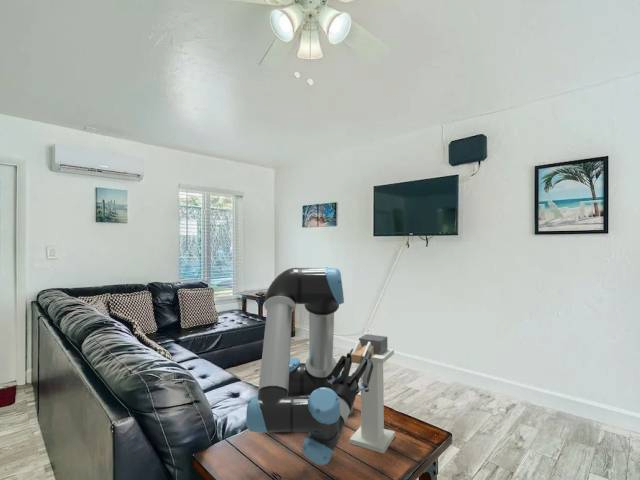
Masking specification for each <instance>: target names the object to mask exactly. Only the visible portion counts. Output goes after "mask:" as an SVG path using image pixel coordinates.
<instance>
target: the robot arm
mask: <svg viewBox="0 0 640 480" xmlns="http://www.w3.org/2000/svg"><path fill="white" fill-rule="evenodd" d="M266 291H267V292H266V293H265V297H264V304H263V305H264V309H265V310H266V317H265V325H264V334H263V335H264V337H263V342H262V344H263V345H262V355H261V356H262V357H261V363H260V364H261V365H260V371H259V372H260V373H259V381H258V392H257V396H253V397H250V398H249V399H248V401H247V406H246V415H245V416H246V417H245V420H246V421H245V422H246V427H247V429H248V431H250V432H251V433H265V434H268V433H274V434H281V435H283V434H285V435H286V434H290V433H291V434H292V433H294V432H295V433H296V432H298V433H299V432H300V433H302V432H304V433H305V432H307V435H306V436H305V438H304V442H303V444H302V446H301V447H302V448H301V449H302V452H303V453H302V454H304V456H305V458H307V459H308V460H310V461H311V462H312V463H315V464H316V465H319V466H325V465H328V463H329V462H330V460H331V459H332V456H333V454H334V453H335V450H336V447H337V445H338V442H339V439H340V436H341V434H342V432H343V429H344V426H345V424H346V422H347V420H348V417H349V416H350V415H349V413H350V410H351V408H352V406H353V403H354V404H355V401H356V398H357V397H356V396H358V394H359V393H361V391H362V390H365V392H368V391H369V387H368V385H369V381H370V377H371V374H372V370H373V363H372V360H370V358H371V349H372V346H371V342H368V344H367V346H366V348H365V350H364V353H363V355H362V358H363V360H362V361H361V363H360V364H359V365H358V366H357V368H356V369H355V370H354V372H352V373H351V375H349V374H350V372H351V368H352V365H353V363H352V362H351V354H353V353H354V352H356V351H357V350H359V349H360V348H361V347H362V346H361V342H360V340H359V339H358V340H357V341H356V343H355V346H354V348H351V349H350V351H349V352H347V353H346V355H341V356H340V358H339V360H338V361H336V359H335V358H334V357H333V355H334V333H335V332H334V331H335V329H334V328H335V313H337V311H338V309H339V308H340V307H339V306H340V305H342V304H344V303H345V298H344V297H345V296H344V289H343V280H342V274H341V271H340V269H339V268H336V267H328V266H326V267H291V268H288V269H286V270H284V271H282V272H281V273H280V274H278V275H277V276H276V277H275V278H274V280H273V281H272V282H271V284H270V285H269V287H268V289H267V290H266ZM297 305H304V309H305V310H306V312H308V324H309V325H308V333H309V335H308V336H309V337H308V338H309V339H308V340H309V343H308V344H309V345H308V346H309V347H308V350H309V351H308V357H307V358H306V360H305V362H301V361H300V359H299V358H297V357H291V344H292V343H291V340H292V319H293V312H294V311H295V310H296V307H297ZM364 371H365V373H364ZM363 373H364V376H363V381H362V382H361V381H360V380H361V376H362V374H363ZM359 383H360V385H359ZM308 396H310V397H308ZM353 407H354V406H353Z"/></svg>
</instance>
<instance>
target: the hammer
mask: <svg viewBox="0 0 640 480" xmlns="http://www.w3.org/2000/svg"><path fill="white" fill-rule="evenodd" d="M358 340H360V342H361V346H362V347H361V348H360V349H359V350H357V351H356V352H354V353H353V354H351V362H352V364H359V365H360V363H361V361H362V360H363V358H362V355H363V353H364V350H365V348H366V346H367V344H368V342H371V346H372V349H371V356H372V355H373V354H379V355H381V354H383V353H384V352H385V351H386V350H388V349H389V348H388V336H385V335H376V334H375V335H374V334H369V333H368V334H367V333H366V334H364V335H362V336H360V337H359V338H358Z"/></svg>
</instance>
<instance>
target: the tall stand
mask: <svg viewBox="0 0 640 480" xmlns="http://www.w3.org/2000/svg"><path fill="white" fill-rule="evenodd" d="M394 354H395V349H392V348H388V350H386V351H385V352H384V353H383V354H381V355H379V354H373V355H372V356H371V358H370V360H372V363H373V370H372V374H371V377H370V381H369V385H368V387H369V391H368V392H365V390H362V391H360V426H359V427H358V428H357V430H356V431H355V432H354V433H353V434H352V435H351V437H350V438H349V444H350V445H354V446H357V447H360V448H363V449H368V450H370V451H373V452H377V453H380V454H382V455H383V454H385V453H386V451H387V450H388V448H389V446H390V445H391V443H392V442H393V440H394V438H395V436H396V431H394V430H390V429H387V428H385V423H384V422H385V417H384V415H385V414H384V413H385V411H384V410H385V406H384V405H385V403H384V402H385V401H384V399H385V398H384V363H385V362H387V361H388V360H389V359H390V358H391V357H393V355H394ZM364 373H365V371H364ZM364 373H363V374H362V376H361V378H360V383H361V382H362V381H363V376H364Z"/></svg>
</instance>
